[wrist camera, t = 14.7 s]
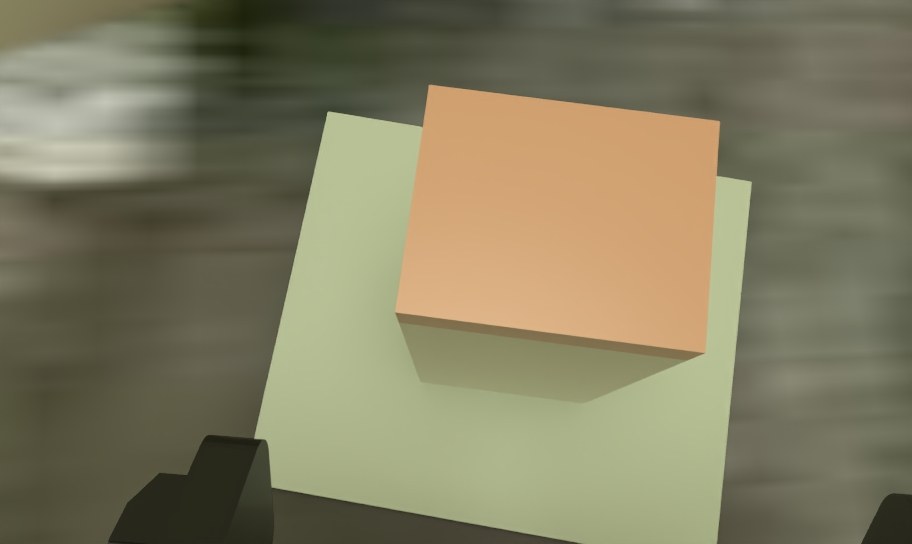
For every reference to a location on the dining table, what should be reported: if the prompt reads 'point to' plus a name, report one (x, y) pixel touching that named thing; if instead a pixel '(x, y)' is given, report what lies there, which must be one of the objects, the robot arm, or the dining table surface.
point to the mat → (471, 410)
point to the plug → (556, 244)
